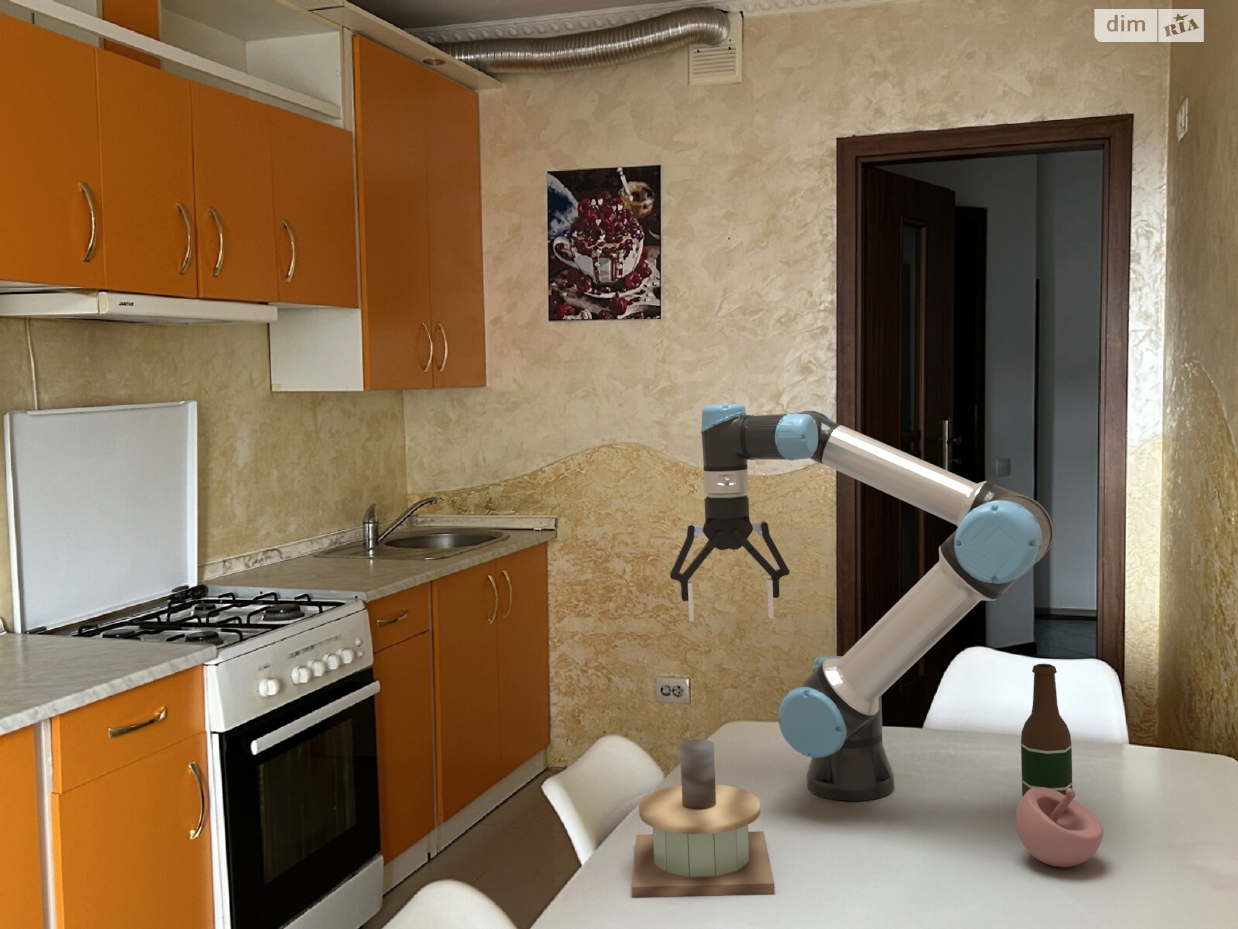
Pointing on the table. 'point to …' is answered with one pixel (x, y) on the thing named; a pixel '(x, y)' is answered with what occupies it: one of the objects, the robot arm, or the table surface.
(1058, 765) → the beer bottle
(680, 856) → the bowl
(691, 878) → the serving board
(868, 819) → the table surface
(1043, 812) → the mortar and pestle
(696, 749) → the lid
